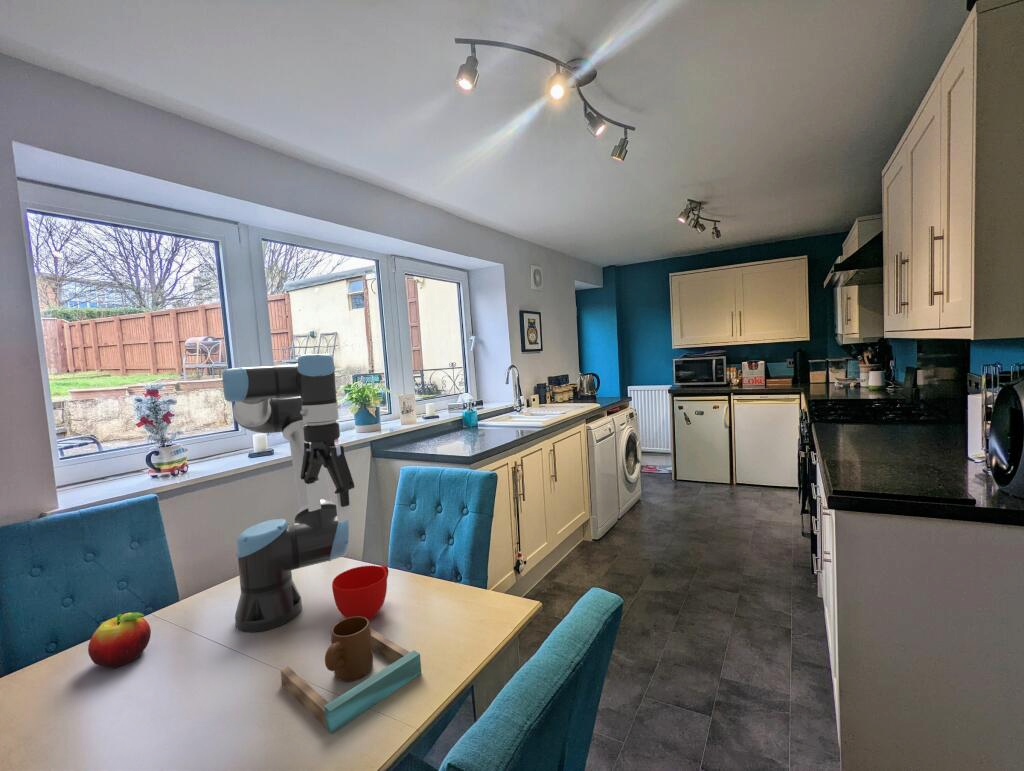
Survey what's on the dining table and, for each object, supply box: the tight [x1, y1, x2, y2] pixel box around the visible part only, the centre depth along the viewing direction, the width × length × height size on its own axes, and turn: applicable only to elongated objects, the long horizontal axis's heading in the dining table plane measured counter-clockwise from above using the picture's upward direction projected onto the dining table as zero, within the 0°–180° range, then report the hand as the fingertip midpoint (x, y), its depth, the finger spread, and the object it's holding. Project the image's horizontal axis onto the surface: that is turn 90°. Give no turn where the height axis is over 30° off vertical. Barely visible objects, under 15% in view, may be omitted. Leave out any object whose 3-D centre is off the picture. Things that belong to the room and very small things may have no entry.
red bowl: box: [331, 565, 389, 622], centre depth 118 cm, size 13×17×10 cm
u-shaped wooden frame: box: [280, 627, 422, 734], centre depth 93 cm, size 20×19×4 cm
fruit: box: [87, 611, 152, 669], centre depth 104 cm, size 11×11×10 cm
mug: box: [324, 616, 374, 682], centre depth 94 cm, size 12×8×9 cm, turn 167°
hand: (328, 515), depth 107 cm, fingers open, 13 cm apart
